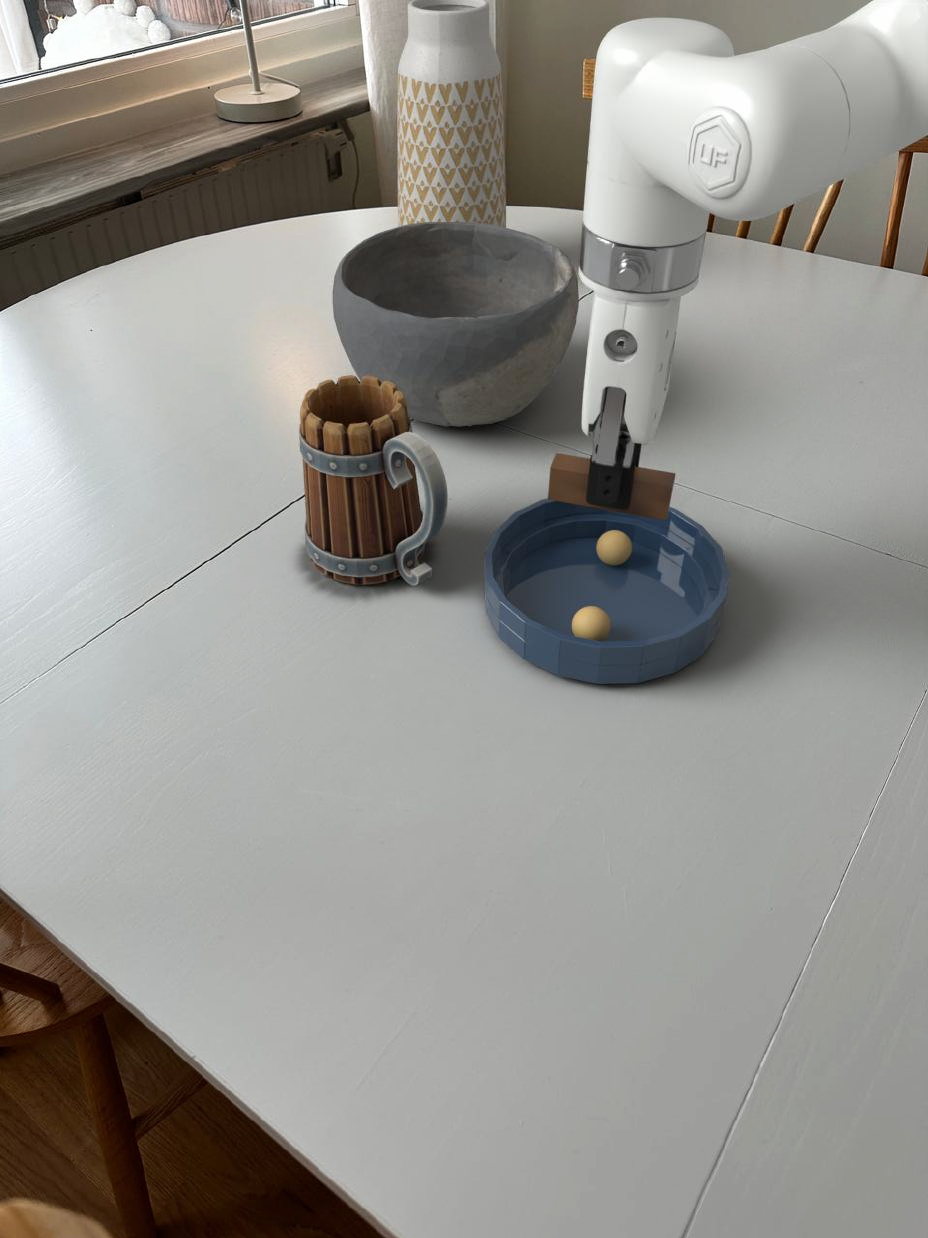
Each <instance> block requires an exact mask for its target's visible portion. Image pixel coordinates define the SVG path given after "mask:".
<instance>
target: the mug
mask: <svg viewBox="0 0 928 1238" xmlns="http://www.w3.org/2000/svg"><path fill="white" fill-rule="evenodd" d="M299 407H300V408H299V421H300V423H299V426H298V427H299V428H298V440H299V441H298V442H299V452H300V455H301V458H302V471H303V472H302V474H303V487H304V489H303V490H304V504H305V517H306V518H305V522H304V540H305V541H304V542H305V548H306V551H307V554H308V557H309V561H311V562H312V563H313V567H314V568H316V570H317V571H318V572H320V573H321V574H323V575H324V576H325V577H328V578H330V579H332V580H334V581H337V582H341V583H344V584H347V585H348V584H349V585H358V586H364V585H365V586H367V585H377V584H381V583H387V582H390V581H392V580H395V579H397V578H399V577H401V578H403V580H404V581H405V582H406V583H408V584H409V585H410V586H417V585H418V584H420V583H421V582H422V583H423V582H424V581H425V580H427V579H429V578H431V577H432V575H433V568H432V567H431V566H430V565H428V564H427V563H425V562H423V563H421V564H420V563H419V562H420V560H421V559H422V558H423V556H424V554H425V551H426V550H425V546H426V543H427V542H429V541H431V540H432V539H434V538H435V537H436V536H437V535H439V534H440V533H441V530H442V529H443V527H444V525H445V522H446V518H447V510H448V501H449V498H448V496H449V495H448V494H449V493H448V485H447V480H446V476H445V472H444V469H443V466H442V465H441V462H440V459H439V458H438V456H437V454H436V452H435V450H434V449H433V447H431V445H430V444H429V443H428V442H427V440H425V438H423V437H421V436H420V435H419V434H417V433H414V432H413V427H412V419H410V417H409V415H408V411H407V403H406V399H405V398H404V396H403V394H402V392H400V391H399V390H398V389H397V387H396V385H395V384H393V383H391V382H390V381H383V382H382V383H381V381H380V380H379V379H378V378H377V377H374V376H363V377H362V379H361V381H360V379H359V378H358V376H357V375H353V374H350V375H342V376H340V377H338V379H337V381H336V382H335V381H334V380H333V379H325V380H323V381H321V382H319V383H318V384H317V387H316V388H311V389H308V390H307V392H306V393H305V394H304V396H303V399H302V401H301V405H300V406H299ZM417 473H418V476H419V479H420V481H421V484H422V485H421V486H422V488H423V489H422V490H423V498H424V499H423V500H424V502H423V503H424V504H423V511H422V508H421V500H420V493H419V492H420V491H419V485H418V478H417Z"/></svg>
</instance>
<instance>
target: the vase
mask: <svg viewBox="0 0 928 1238" xmlns="http://www.w3.org/2000/svg"><path fill="white" fill-rule="evenodd" d="M490 29H491V28H490V3H489V2H488V1H487V0H411V1H409V2H408V4H407V39H406V42H405V44H404V47H403V50H402V52H401V55H400V58H399V62H398V66H397V96H396V97H397V103H396V104H397V108H396V111H397V113H396V119H397V120H396V121H397V122H396V123H397V124H396V125H397V131H396V132H397V139H396V140H397V221H398V222H397V223H398V226H397V227H400V226H403V225H409V224H415V223H423V222H469V223H485V224H492V225H496V226H500V227H505V228H507V190H506V189H507V188H506V185H507V184H506V157H505V156H506V153H505V124H504V122H505V121H504V99H503V98H504V97H503V75H502V73H503V72H502V65H501V62H500V58H499V56H498V53H497V51H496V49H495V48H496V47H495V45H494V43H493V40H492V38H491V34H490Z"/></svg>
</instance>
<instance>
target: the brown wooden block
mask: <svg viewBox="0 0 928 1238" xmlns="http://www.w3.org/2000/svg"><path fill="white" fill-rule="evenodd" d="M589 465H590V457H589V458H588V457H583V456H577V455H572V454H565V453H559V452H556V453H555V455H554V457H553V460H552V462H551V464H550V467H549V478H548V491H547V498H548V499H549V500H554V501H560V502H565V503H571V504H576V505H582V506H587V507H593V508H598V509H604V510H609V511H615V512H620V513H626V514H631V515H637V516H643V517H648V518H654V519H659V520H666V519H667V515H668V511H669V507H671V500H672V496H673V491H674V485H675V480H676V472H671V471H665V470H659V469H653V468H647V467H643V466H638V467H636V466H635V472H634V479H633V486H632V493H631V500H630V505H629V508H628V509H627V510H621V509H615V508H609V507H603V506H597V505H591V504H589V503H587V501H586V495H587V485H588V475H589Z"/></svg>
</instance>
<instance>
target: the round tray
mask: <svg viewBox="0 0 928 1238" xmlns="http://www.w3.org/2000/svg"><path fill="white" fill-rule="evenodd" d="M611 530H618V531H621V532H623V533H625V534H626V535H627V536H628V537H629V538H630V540H631V543H632V552H631V555H630V557H629V558H628V560H627V561H625V562H624V563H622V564H620V565H616V566H612V565H608V564H606V563H604V562H603V561H602V560H601V559H600V558H599V556H598V554H597V550H596V546H597V542H598V540H599V538H600V537H601V536H602V535H603V534H604V533H606V532H608V531H611ZM730 575H731V571H730V567H729V564H728V563H727V559H726V557H725V554H724V550H723V548H722V546H721V545H720V544H719V543H718V541H716V539H715V538H714V537H713V536H712V535H711V534H710V532H708V530H707V529H706V528H705V526H704V525H702V524H700V523H698V522H697V521H696V520H695V519H692V518H691V517H689V516H688V515H686V514H685V513H683V512H681V511H680V510H679V509H677V508H674V507H671V506H670V507H669V511H668V515H667V519H666V520H659V519H654V518H648V517H643V516H637V515H631V514H626V513H620V512H615V511H609V510H604V509H598V508H593V507H587V506H582V505H576V504H571V503H565V502H560V501H554V500H549V499H548V497H546V498H543V499H539V500H538V501H535V502H534V503H533V502H532V504H529V505H527V506H525V507H523V508H521V509H519V510H517V511H515V512H513V513H512V514H511V515H510V516H509V517H508V518H507V519H506V520H505V521H503V523H501V524H500V525H499V526H498V527H497V528H496V529H495V530H494V532H493V534H492V536H491V539H490V541H489V542H488V545H487V546H486V550H485V552H484V577H483V578H484V580H483V581H484V584H483V585H484V586H483V587H484V588H483V591H484V605H485V615H486V616H487V618H488V620H489V622H490V624H491V626H492V627H493V629H494V631H495V633H496V636H497V637H498V639H500V641H502V642H503V643H504V644H505V645H506V646H507V647H509V648H510V649H511V650H512V651H513V652H514V653H515V654H516V655H518V656H519V657H520V658H521V659H523V660H524V661H526V662H528V663H530V664H532V665H534V666H537V667H538V668H540V669H543V670H546V671H547V672H549V673H551V674H554V675H556V676H558V677H563V678H567V679H572V680H577V681H581V682H586V683H592V684H596V685H597V684H599V685H606V684H607V685H608V684H609V685H610V684H611V685H612V684H639V683H642V682H647V681H650V680H654V679H657V678H661V677H666V676H668V675H672V674H675V673H676V672H678V671H679V670H681V669H683V668H684V667H686V666H687V665H689V664H691V663H692V662H693V661H695V660H697V659H698V658H700V657H702V655H703V654H704V652H706V650H707V649H708V647H709V646H710V645H711V644H712V642H713V640H715V638H716V636H717V635H718V633H719V630H720V626H721V621H722V617H723V613H724V608H725V605H726V604H725V603H726V600H727V596H728V595H727V594H728V589H729V582H730ZM588 606H594V607H598V608H600V609H602V610H603V611H605V612H606V614H607V615H608V617H609V619H610V623H611V628H610V632H609V634H608V636H607V637H606V639H605V640H603V641H602V642H601V641H596V640H591V639H586V638H580V637H575V635H574V633H573V631H572V620H573V618H574V616H575V614H576V613H577V612H578V611H579V610H580V609H582V608H584V607H588Z"/></svg>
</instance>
